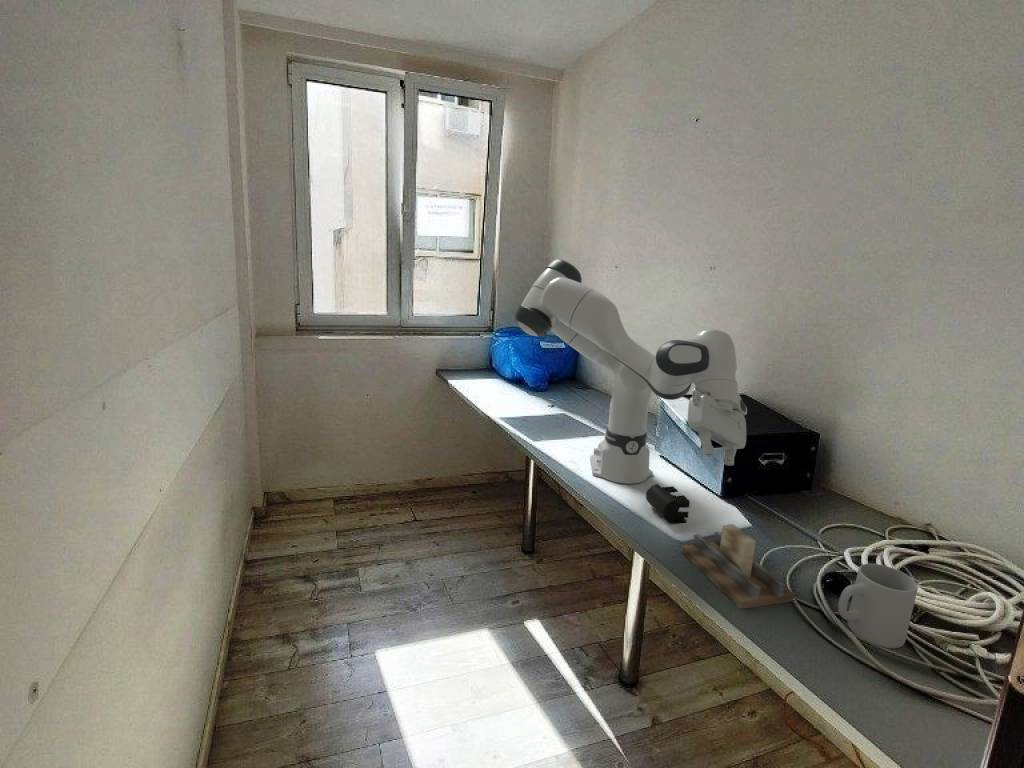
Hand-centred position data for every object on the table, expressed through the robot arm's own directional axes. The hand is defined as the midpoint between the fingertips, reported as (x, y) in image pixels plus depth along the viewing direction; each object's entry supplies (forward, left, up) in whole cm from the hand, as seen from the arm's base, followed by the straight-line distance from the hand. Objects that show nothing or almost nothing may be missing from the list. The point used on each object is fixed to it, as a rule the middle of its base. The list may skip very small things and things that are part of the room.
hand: (718, 459), depth 109 cm
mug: (+26, +17, -23) cm, 38 cm away
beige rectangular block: (+8, +2, -21) cm, 22 cm away
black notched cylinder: (-18, -2, -23) cm, 29 cm away
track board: (+8, +2, -22) cm, 24 cm away
